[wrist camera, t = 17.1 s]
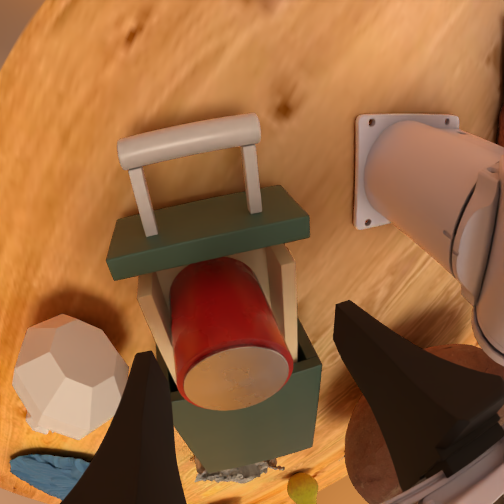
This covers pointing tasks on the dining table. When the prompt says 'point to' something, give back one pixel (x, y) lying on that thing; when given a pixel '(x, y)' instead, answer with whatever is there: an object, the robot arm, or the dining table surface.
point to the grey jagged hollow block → (236, 472)
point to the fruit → (302, 488)
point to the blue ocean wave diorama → (49, 472)
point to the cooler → (253, 418)
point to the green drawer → (206, 226)
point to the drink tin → (225, 337)
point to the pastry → (501, 128)
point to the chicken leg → (68, 377)
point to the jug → (372, 441)
